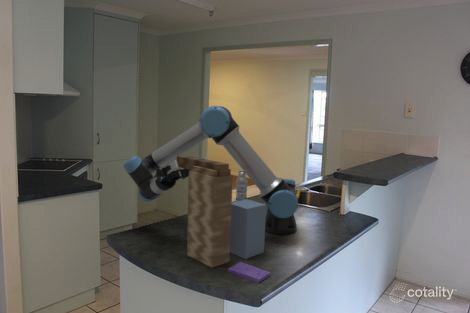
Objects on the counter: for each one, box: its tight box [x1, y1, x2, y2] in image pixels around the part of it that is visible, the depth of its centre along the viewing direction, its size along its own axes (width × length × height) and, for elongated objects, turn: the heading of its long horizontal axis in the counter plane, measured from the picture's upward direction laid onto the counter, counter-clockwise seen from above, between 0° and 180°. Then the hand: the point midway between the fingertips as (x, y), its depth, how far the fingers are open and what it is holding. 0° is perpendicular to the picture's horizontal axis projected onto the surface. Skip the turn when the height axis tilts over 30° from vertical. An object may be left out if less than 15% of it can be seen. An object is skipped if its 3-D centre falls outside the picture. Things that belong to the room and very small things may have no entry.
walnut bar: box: [176, 154, 230, 177], centre depth 136 cm, size 24×4×4 cm, turn 44°
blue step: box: [230, 198, 267, 260], centre depth 143 cm, size 10×10×18 cm
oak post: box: [186, 165, 234, 269], centre depth 134 cm, size 14×8×33 cm, turn 44°
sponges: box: [227, 261, 271, 284], centre depth 126 cm, size 7×13×2 cm, turn 52°
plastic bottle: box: [234, 170, 249, 202], centre depth 202 cm, size 6×7×20 cm
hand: (191, 161), depth 139 cm, fingers open, 13 cm apart
